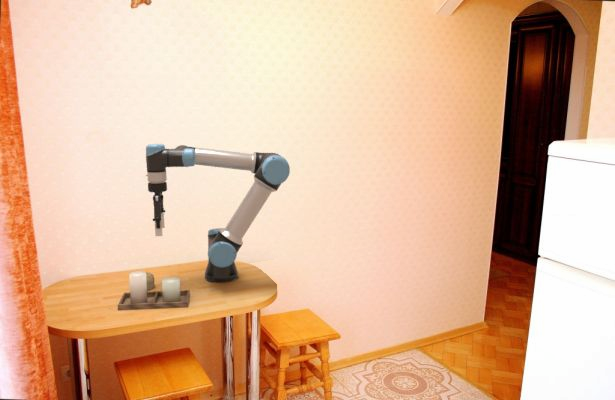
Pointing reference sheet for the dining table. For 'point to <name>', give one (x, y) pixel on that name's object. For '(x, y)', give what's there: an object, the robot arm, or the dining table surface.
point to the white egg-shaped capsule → (171, 289)
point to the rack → (154, 301)
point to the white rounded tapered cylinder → (138, 287)
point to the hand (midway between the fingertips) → (160, 231)
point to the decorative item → (149, 281)
